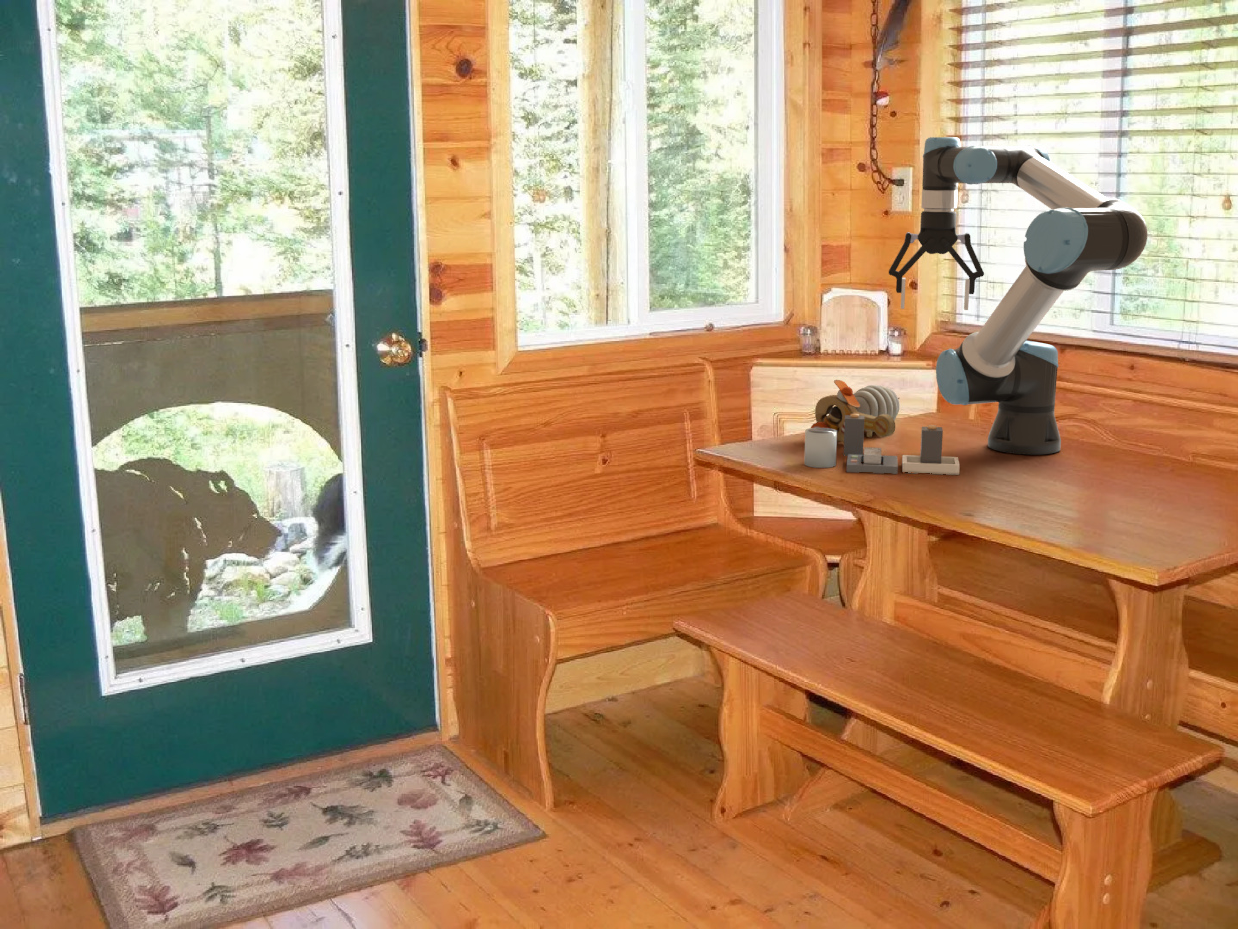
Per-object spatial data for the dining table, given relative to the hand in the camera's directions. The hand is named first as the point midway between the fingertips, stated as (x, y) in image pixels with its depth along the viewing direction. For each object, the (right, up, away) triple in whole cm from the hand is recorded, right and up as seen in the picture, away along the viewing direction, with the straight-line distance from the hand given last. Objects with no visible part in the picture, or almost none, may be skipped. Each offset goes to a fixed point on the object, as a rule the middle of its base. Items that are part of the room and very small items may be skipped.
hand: (934, 308), depth 309 cm
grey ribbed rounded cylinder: (-12, -27, +10) cm, 32 cm away
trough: (-6, -35, -25) cm, 44 cm away
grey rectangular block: (-18, -33, -23) cm, 44 cm away
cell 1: (-20, -32, -11) cm, 39 cm away
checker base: (-18, -35, -23) cm, 45 cm away
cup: (-28, -34, -20) cm, 49 cm away
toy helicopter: (-19, -30, -3) cm, 36 cm away
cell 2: (-6, -35, -25) cm, 43 cm away
